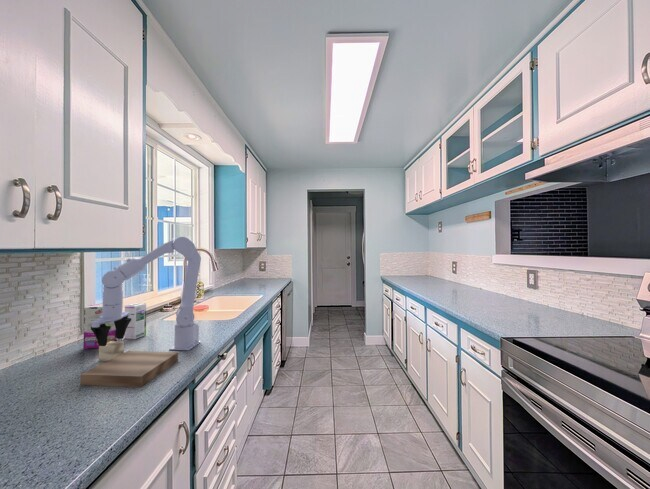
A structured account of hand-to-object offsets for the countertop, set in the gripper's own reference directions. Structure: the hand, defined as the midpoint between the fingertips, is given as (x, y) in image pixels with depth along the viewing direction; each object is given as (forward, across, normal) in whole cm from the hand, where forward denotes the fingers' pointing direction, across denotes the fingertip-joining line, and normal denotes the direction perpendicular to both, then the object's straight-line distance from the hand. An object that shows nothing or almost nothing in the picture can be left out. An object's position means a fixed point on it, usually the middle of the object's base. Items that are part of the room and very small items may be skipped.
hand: (111, 341), depth 97 cm
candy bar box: (+6, -10, -12) cm, 17 cm away
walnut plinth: (+6, +10, +16) cm, 20 cm away
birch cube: (+6, 0, 0) cm, 6 cm away
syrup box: (+6, -22, -8) cm, 24 cm away
